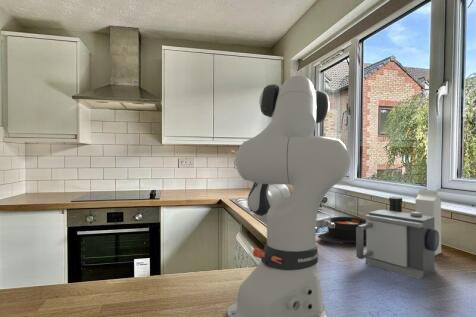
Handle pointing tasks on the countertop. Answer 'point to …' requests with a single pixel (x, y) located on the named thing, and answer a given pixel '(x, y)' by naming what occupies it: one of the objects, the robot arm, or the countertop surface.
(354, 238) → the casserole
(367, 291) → the countertop surface
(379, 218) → the camera case
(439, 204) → the milk
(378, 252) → the side door
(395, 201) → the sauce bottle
